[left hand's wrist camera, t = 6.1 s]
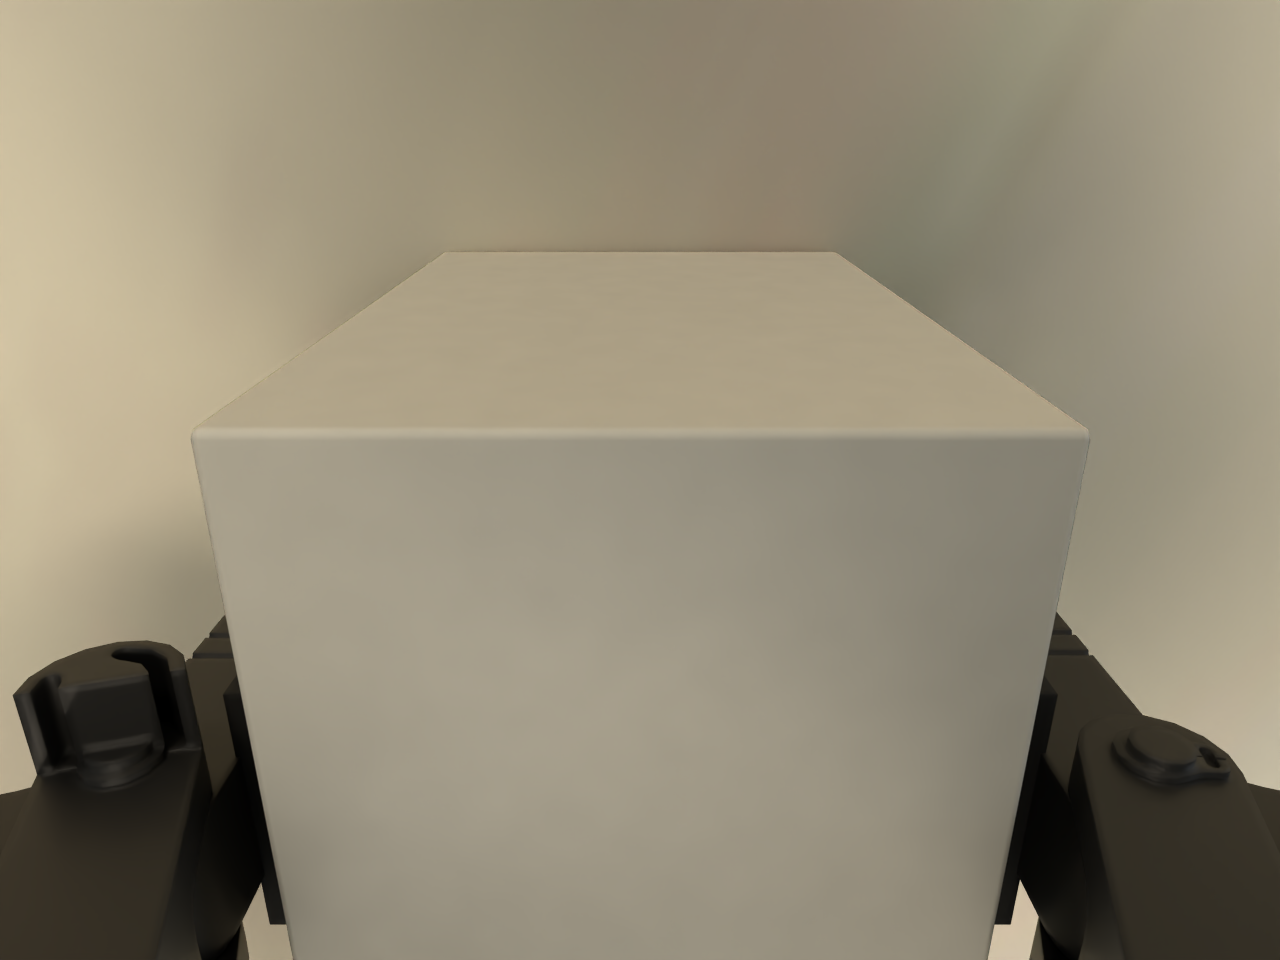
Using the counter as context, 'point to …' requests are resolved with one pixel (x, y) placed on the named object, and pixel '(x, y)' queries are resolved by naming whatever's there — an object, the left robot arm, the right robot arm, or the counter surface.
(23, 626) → the counter surface
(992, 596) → the bar
